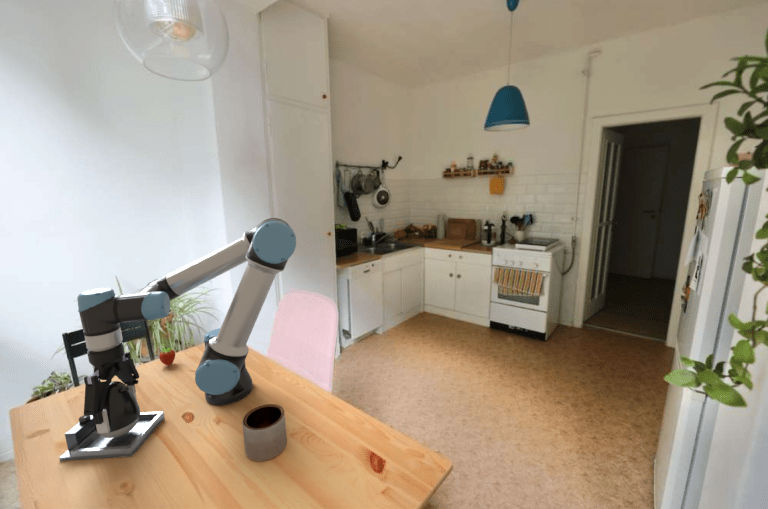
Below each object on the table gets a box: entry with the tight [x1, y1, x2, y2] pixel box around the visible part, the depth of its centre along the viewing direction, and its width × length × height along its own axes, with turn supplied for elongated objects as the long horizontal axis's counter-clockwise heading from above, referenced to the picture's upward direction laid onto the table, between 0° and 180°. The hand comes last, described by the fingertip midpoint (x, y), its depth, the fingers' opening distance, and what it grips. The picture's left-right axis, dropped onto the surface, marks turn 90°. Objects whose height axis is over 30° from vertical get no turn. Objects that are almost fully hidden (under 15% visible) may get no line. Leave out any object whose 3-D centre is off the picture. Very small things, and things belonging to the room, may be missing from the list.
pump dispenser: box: [94, 380, 141, 438], centre depth 93 cm, size 10×10×15 cm
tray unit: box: [59, 410, 165, 462], centre depth 94 cm, size 18×15×7 cm
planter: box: [242, 403, 288, 462], centre depth 90 cm, size 11×11×10 cm
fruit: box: [158, 346, 176, 367], centre depth 134 cm, size 5×5×8 cm
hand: (118, 418), depth 94 cm, fingers open, 10 cm apart
